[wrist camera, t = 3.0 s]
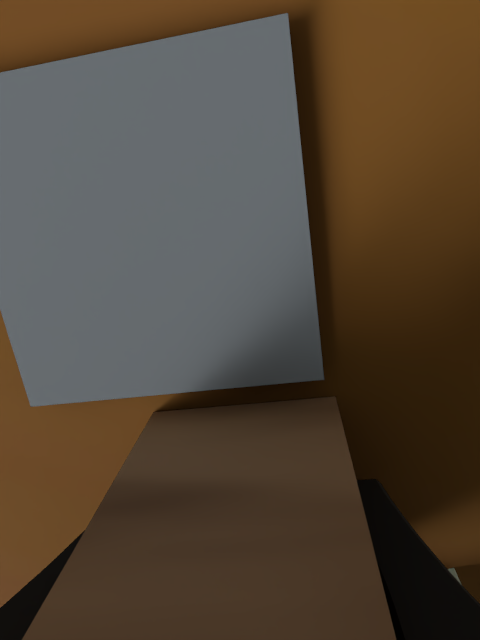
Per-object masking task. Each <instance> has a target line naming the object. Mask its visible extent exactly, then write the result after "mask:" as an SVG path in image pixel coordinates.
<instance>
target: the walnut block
mask: <svg viewBox="0 0 480 640" xmlns="http://www.w3.org/2000/svg"><path fill="white" fill-rule="evenodd" d="M22 640H396V636H395V632H394V628H393V624H392V620H391V616H390V612H389V608H388V604H387V600H386V596H385V592H384V588H383V584H382V580H381V576H380V572H379V568H378V564H377V560H376V556H375V552H374V548H373V544H372V540H371V536H370V532H369V528H368V524H367V520H366V516H365V512H364V508H363V504H362V500H361V496H360V492H359V488H358V484H357V480H356V476H355V472H354V468H353V464H352V460H351V456H350V452H349V448H348V444H347V440H346V436H345V432H344V428H343V424H342V420H341V416H340V412H339V408H338V404H337V400H336V396H335V397H323V398H312V399H300V400H288V401H277V402H265V403H254V404H242V405H230V406H219V407H207V408H195V409H184V410H172V411H161V412H153V414H152V416H151V418H150V419H149V421H148V423H147V424H146V426H145V428H144V430H143V431H142V433H141V435H140V437H139V438H138V440H137V442H136V443H135V445H134V447H133V449H132V450H131V452H130V454H129V456H128V457H127V459H126V461H125V462H124V464H123V466H122V468H121V469H120V471H119V473H118V475H117V476H116V478H115V480H114V481H113V483H112V485H111V487H110V488H109V490H108V492H107V494H106V495H105V497H104V499H103V500H102V502H101V504H100V506H99V507H98V509H97V511H96V513H95V514H94V516H93V518H92V520H91V521H90V523H89V525H88V526H87V528H86V530H85V532H84V533H83V535H82V537H81V539H80V540H79V542H78V544H77V545H76V547H75V549H74V551H73V552H72V554H71V556H70V558H69V559H68V561H67V563H66V564H65V566H64V568H63V570H62V571H61V573H60V575H59V577H58V578H57V580H56V582H55V583H54V585H53V587H52V589H51V590H50V592H49V594H48V596H47V597H46V599H45V601H44V602H43V604H42V606H41V608H40V609H39V611H38V613H37V615H36V616H35V618H34V620H33V621H32V623H31V625H30V627H29V628H28V630H27V632H26V634H25V635H24V637H23V639H22Z"/></svg>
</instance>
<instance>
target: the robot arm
mask: <svg viewBox="0 0 480 640" xmlns="http://www.w3.org/2000/svg"><path fill="white" fill-rule="evenodd" d="M357 484H358V488H359V492H360V496H361V500H362V504H363V508H364V512H365V516H366V520H367V524H368V528H369V532H370V536H371V540H372V544H373V548H374V552H375V556H376V560H377V564H378V568H379V572H380V576H381V580H382V584H383V588H384V592H385V596H386V600H387V604H388V608H389V612H390V616H391V620H392V624H393V628H394V632H395V636H396V640H480V604H479V603H478V602H477V601H476V600H475V599H474V598H473V597H472V595H471V594H470V593H469V592H468V591H467V590H466V589H465V588H464V587H463V586H462V585H461V584H460V583H459V582H458V580H457V579H456V578H455V577H454V576H453V575H452V574H451V573H450V572H449V571H448V569H447V568H446V567H445V566H444V565H443V564H442V563H441V562H440V560H439V559H438V558H437V557H436V556H435V554H434V553H433V552H432V551H431V550H430V548H429V547H428V546H427V545H426V544H425V543H424V541H423V540H422V539H421V538H420V537H419V535H418V534H417V533H416V532H415V530H414V529H413V528H412V527H411V525H410V524H409V523H408V521H407V520H406V519H405V517H404V516H403V515H402V513H401V512H400V511H399V509H398V508H397V507H396V505H395V504H394V503H393V501H392V500H391V498H390V497H389V495H388V494H387V492H386V491H385V489H384V488H383V486H382V484H381V483H380V482H379V481H377V480H376V479H368V480H357ZM84 532H85V531H84ZM84 532H83V533H84ZM83 533H82V534H81V535H79V536H78V537H77V538H76V539H75V540H74V541H73V542H72V543H71V544H70V545H69V546H68V547H67V548H66V549H65V550H64V551H63V552H62V553H61V554H60V555H59V556H58V557H57V558H56V559H54V560H53V561H52V562H51V563H50V564H49V565H48V566H47V567H46V568H45V569H44V570H42V571H41V572H40V573H39V574H38V575H37V576H36V577H35V578H34V579H32V580H31V581H30V582H29V583H28V584H27V585H26V586H25V587H23V588H22V589H21V590H20V591H19V592H18V593H17V594H16V595H15V596H13V597H12V598H11V599H10V600H9V601H8V602H7V603H6V604H4V605H3V606H2V607H1V608H0V640H22V639H23V637H24V635H25V634H26V632H27V630H28V628H29V627H30V625H31V623H32V621H33V620H34V618H35V616H36V615H37V613H38V611H39V609H40V608H41V606H42V604H43V602H44V601H45V599H46V597H47V596H48V594H49V592H50V590H51V589H52V587H53V585H54V583H55V582H56V580H57V578H58V577H59V575H60V573H61V571H62V570H63V568H64V566H65V564H66V563H67V561H68V559H69V558H70V556H71V554H72V552H73V551H74V549H75V547H76V545H77V544H78V542H79V540H80V539H81V537H82V535H83Z"/></svg>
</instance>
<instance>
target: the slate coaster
mask: <svg viewBox="0 0 480 640" xmlns="http://www.w3.org/2000/svg"><path fill="white" fill-rule="evenodd" d="M0 310H1V313H2V316H3V320H4V323H5V326H6V329H7V332H8V336H9V339H10V342H11V345H12V348H13V351H14V355H15V358H16V361H17V364H18V367H19V370H20V374H21V377H22V380H23V383H24V386H25V390H26V393H27V396H28V399H29V402H30V405H31V407H32V406H43V405H54V404H65V403H76V402H86V401H97V400H108V399H119V398H130V397H141V396H152V395H163V394H174V393H185V392H196V391H207V390H218V389H228V388H239V387H250V386H261V385H272V384H283V383H294V382H305V381H316V380H324V372H323V362H322V352H321V342H320V331H319V321H318V311H317V301H316V291H315V281H314V271H313V261H312V251H311V241H310V231H309V221H308V211H307V201H306V190H305V180H304V170H303V160H302V150H301V140H300V130H299V120H298V110H297V100H296V90H295V80H294V70H293V59H292V49H291V39H290V29H289V19H288V13H286V14H281V15H276V16H271V17H266V18H261V19H257V20H252V21H247V22H242V23H237V24H233V25H228V26H223V27H218V28H213V29H208V30H204V31H199V32H194V33H189V34H184V35H179V36H175V37H170V38H165V39H160V40H155V41H151V42H146V43H141V44H136V45H131V46H126V47H122V48H117V49H112V50H107V51H102V52H97V53H93V54H88V55H83V56H78V57H73V58H69V59H64V60H59V61H54V62H49V63H44V64H40V65H35V66H30V67H25V68H20V69H15V70H11V71H6V72H1V73H0Z"/></svg>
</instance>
